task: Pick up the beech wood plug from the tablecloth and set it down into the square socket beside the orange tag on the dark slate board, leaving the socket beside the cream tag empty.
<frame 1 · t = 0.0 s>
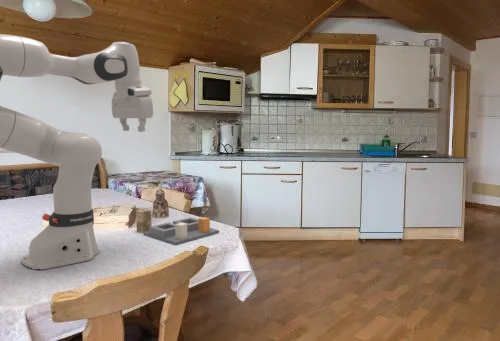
hand: (133, 131, 149), 39 cm above the table, tool pointing down, fingers open, 8 cm apart
wood plug: (144, 230, 164), on the table
socket board: (181, 233, 160), on the table
figurine: (160, 216, 188), on the table
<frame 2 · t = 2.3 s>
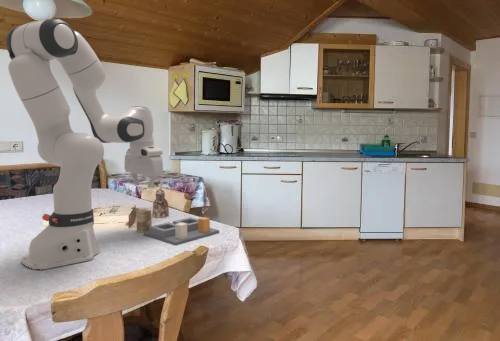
hand: (143, 185, 162), 18 cm above the table, tool pointing down, fingers open, 8 cm apart
nothing on the table moved.
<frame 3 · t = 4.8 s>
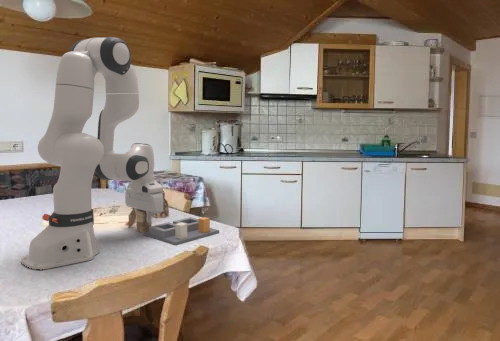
hand: (143, 220, 164), 4 cm above the table, tool pointing down, fingers closed on wood plug, 4 cm apart
wood plug: (144, 230, 164), on the table, touching gripper
everything else where it was.
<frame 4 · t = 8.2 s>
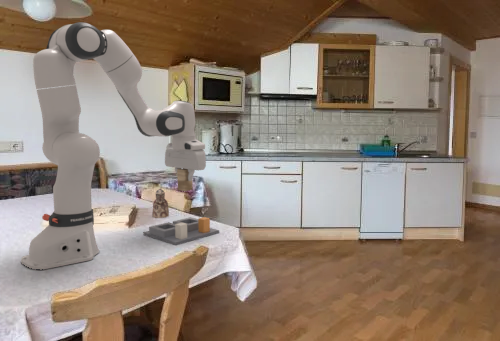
hand: (184, 179, 163), 20 cm above the table, tool pointing down, fingers closed on wood plug, 4 cm apart
wood plug: (185, 189, 164), point 16 cm above the table, touching gripper
everything else where it was.
when the fingers open (6 cm above the table, at t = 11.6 s): wood plug drops 1 cm, resting on socket board.
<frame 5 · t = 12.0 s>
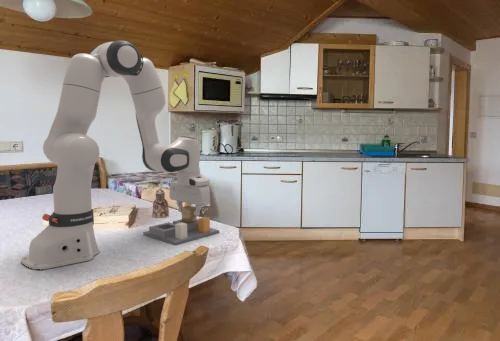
hand: (189, 213, 165), 6 cm above the table, tool pointing down, fingers open, 8 cm apart
wood plug: (189, 227, 165), point 1 cm above the table, touching socket board
everything else where it was.
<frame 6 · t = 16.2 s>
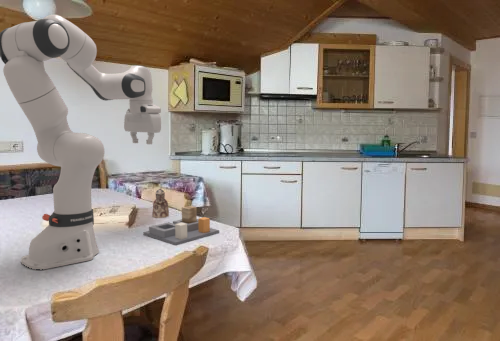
hand: (142, 143, 168), 33 cm above the table, tool pointing down, fingers open, 8 cm apart
nothing on the table moved.
at the end: wood plug 0.0 cm from the target spot on the socket board, point 1.0 cm above the socket board's base; wood plug tilted 0°; the gripper is holding nothing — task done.
